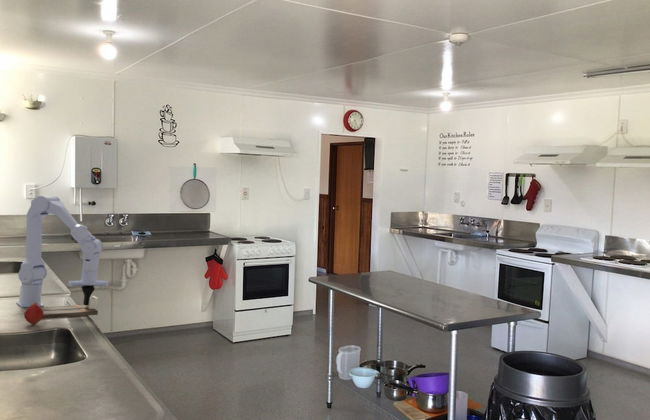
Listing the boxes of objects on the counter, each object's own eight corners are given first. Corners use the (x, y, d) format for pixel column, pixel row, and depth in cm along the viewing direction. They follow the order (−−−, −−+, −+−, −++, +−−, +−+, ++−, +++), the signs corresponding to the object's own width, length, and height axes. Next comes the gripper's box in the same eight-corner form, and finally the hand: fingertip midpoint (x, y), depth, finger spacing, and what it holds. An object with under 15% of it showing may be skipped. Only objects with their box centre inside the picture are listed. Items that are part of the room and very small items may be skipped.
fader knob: (85, 306, 221) (86, 295, 221) (92, 305, 223) (93, 295, 223) (89, 308, 217) (90, 298, 217) (97, 308, 219) (98, 297, 219)
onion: (21, 326, 191) (23, 303, 190) (26, 322, 196) (27, 300, 196) (40, 327, 192) (42, 304, 192) (44, 323, 198) (45, 300, 198)
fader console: (30, 311, 212) (30, 307, 212) (87, 308, 225) (87, 304, 225) (38, 318, 203) (38, 314, 202) (97, 314, 216) (97, 310, 216)
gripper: (73, 272, 211) (70, 307, 211) (112, 271, 220) (108, 306, 221) (68, 268, 216) (64, 303, 217) (106, 269, 226) (102, 302, 226)
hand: (86, 304), depth 219 cm, fingers closed, pressing on fader knob
